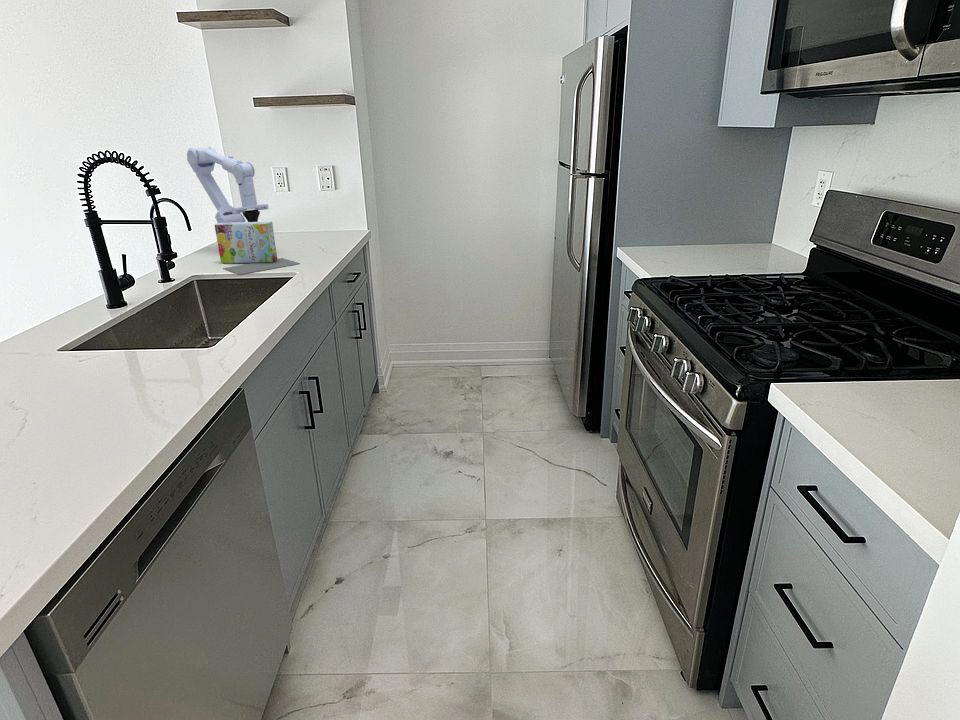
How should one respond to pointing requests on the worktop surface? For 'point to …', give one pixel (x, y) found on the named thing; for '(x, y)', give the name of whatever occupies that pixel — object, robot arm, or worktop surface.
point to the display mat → (260, 266)
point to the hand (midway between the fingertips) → (254, 229)
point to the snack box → (246, 242)
